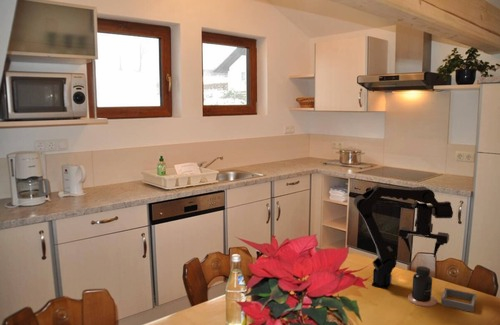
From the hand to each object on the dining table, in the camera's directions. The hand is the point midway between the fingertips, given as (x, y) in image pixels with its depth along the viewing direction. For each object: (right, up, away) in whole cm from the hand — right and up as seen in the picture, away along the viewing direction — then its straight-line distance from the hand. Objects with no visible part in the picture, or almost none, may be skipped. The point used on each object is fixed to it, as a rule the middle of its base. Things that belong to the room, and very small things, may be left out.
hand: (422, 255), depth 170 cm
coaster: (-5, -15, -11) cm, 19 cm away
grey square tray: (+8, -15, -14) cm, 22 cm away
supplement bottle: (-5, -14, -11) cm, 19 cm away
